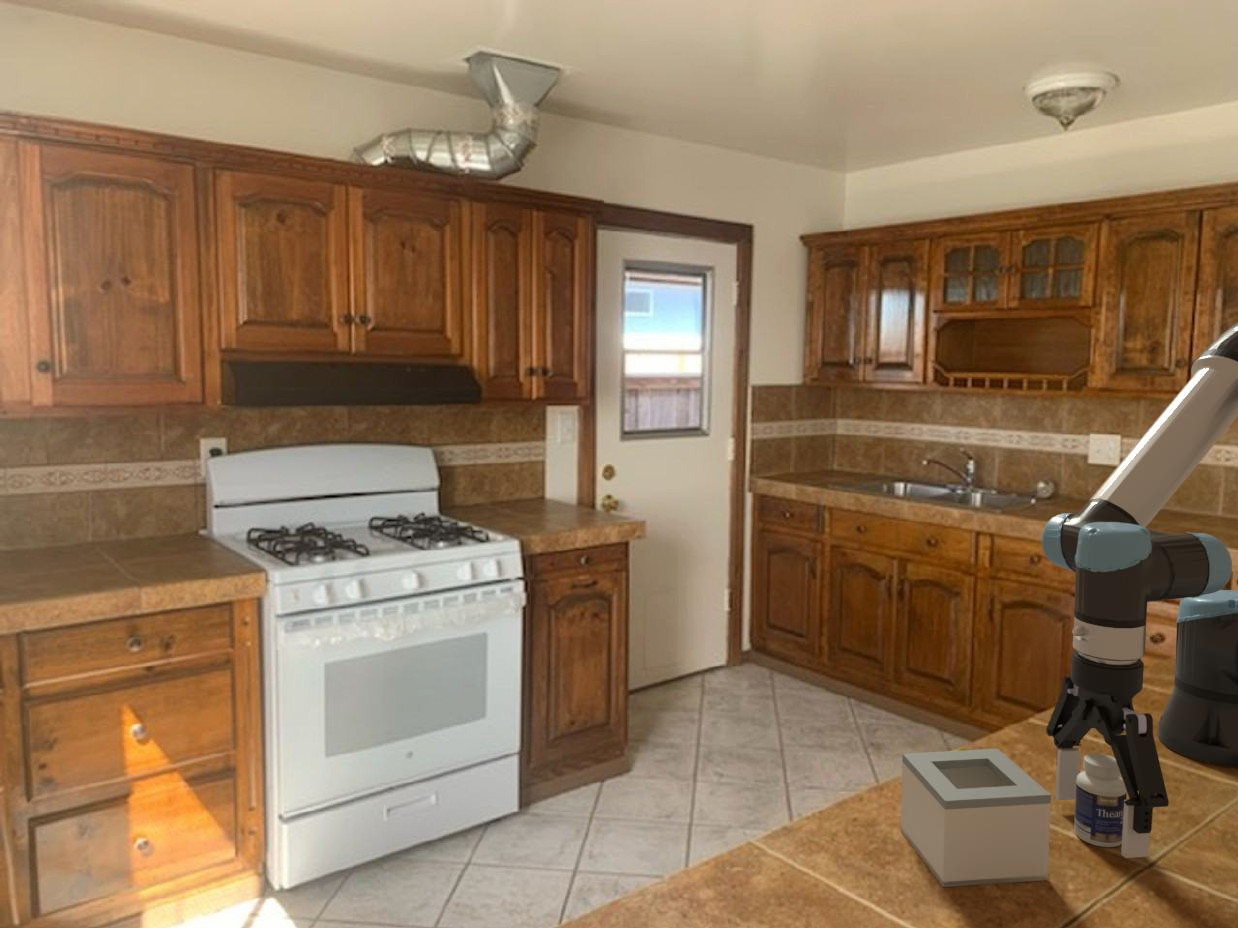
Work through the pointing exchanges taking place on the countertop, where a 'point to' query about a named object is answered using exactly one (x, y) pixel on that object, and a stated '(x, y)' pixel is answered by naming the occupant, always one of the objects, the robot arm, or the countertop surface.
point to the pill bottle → (1100, 801)
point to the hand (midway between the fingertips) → (1098, 825)
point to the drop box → (975, 817)
